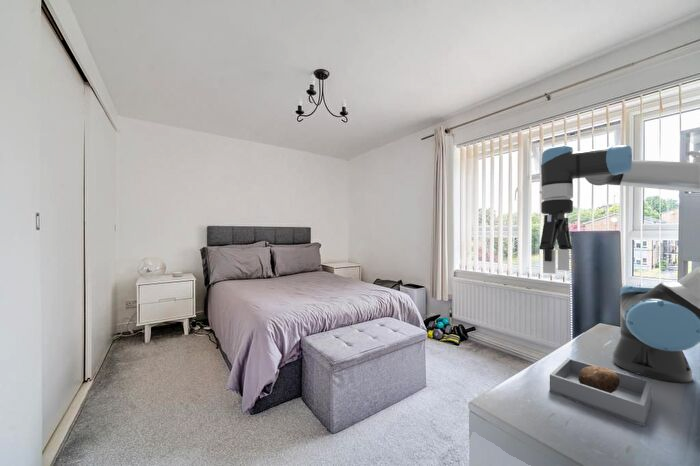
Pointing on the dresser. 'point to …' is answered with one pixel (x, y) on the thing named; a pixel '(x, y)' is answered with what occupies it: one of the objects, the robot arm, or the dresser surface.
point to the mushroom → (599, 378)
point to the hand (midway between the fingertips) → (556, 271)
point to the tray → (623, 402)
